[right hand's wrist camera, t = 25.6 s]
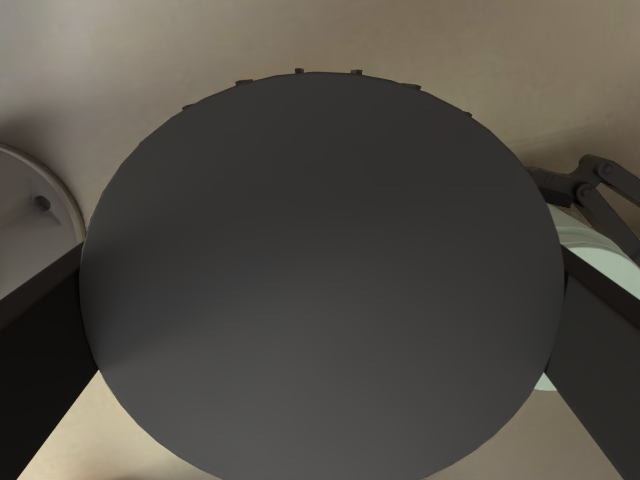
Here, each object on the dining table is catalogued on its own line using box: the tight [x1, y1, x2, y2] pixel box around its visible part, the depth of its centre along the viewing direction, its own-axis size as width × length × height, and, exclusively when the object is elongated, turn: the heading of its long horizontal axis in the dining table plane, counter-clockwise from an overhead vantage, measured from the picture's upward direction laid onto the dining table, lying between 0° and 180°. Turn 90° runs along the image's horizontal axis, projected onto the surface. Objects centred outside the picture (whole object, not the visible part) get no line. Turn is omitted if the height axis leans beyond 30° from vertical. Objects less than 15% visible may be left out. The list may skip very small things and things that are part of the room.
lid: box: [79, 68, 565, 480], centre depth 11 cm, size 11×11×2 cm
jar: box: [534, 203, 640, 390], centre depth 31 cm, size 10×10×16 cm
